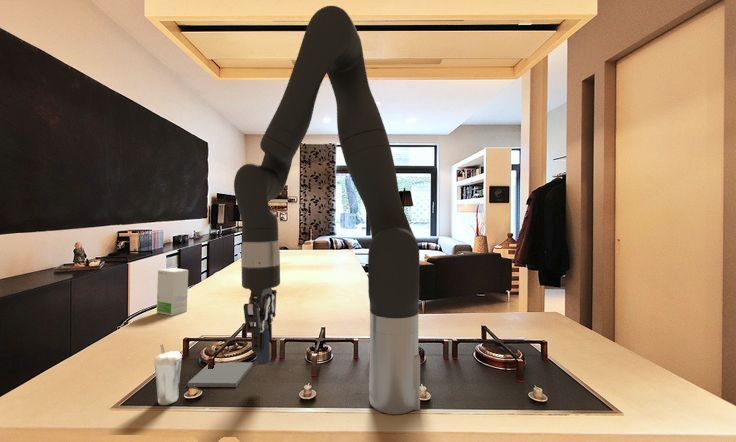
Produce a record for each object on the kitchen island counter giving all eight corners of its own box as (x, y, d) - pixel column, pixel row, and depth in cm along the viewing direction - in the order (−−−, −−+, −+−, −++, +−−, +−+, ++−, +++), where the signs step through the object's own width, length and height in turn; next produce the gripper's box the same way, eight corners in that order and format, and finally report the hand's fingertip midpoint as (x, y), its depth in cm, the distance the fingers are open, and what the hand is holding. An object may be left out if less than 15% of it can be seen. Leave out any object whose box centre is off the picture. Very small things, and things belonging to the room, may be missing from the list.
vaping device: (268, 354, 74) (266, 298, 73) (270, 363, 69) (268, 304, 69) (255, 356, 73) (253, 299, 73) (256, 366, 68) (255, 305, 68)
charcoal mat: (252, 365, 81) (252, 362, 81) (236, 387, 71) (236, 383, 71) (210, 365, 81) (210, 362, 81) (187, 386, 71) (187, 382, 71)
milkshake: (174, 390, 69) (174, 341, 69) (186, 399, 66) (185, 347, 66) (148, 400, 66) (148, 347, 66) (159, 410, 62) (159, 355, 62)
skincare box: (156, 313, 124) (156, 269, 123) (172, 308, 130) (172, 267, 130) (172, 316, 120) (172, 271, 120) (188, 311, 126) (188, 268, 126)
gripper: (268, 268, 63) (270, 360, 64) (287, 258, 78) (288, 334, 78) (228, 268, 63) (229, 360, 64) (254, 259, 78) (255, 334, 78)
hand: (262, 345), depth 71 cm, fingers closed on vaping device, 5 cm apart
